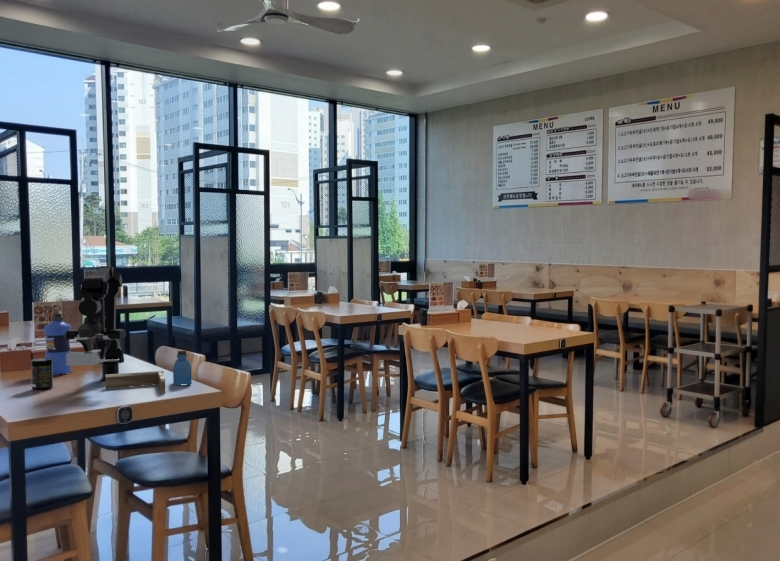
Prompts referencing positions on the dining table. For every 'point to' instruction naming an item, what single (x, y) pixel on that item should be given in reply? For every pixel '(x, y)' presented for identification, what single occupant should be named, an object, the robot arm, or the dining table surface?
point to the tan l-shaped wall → (135, 379)
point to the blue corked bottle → (182, 369)
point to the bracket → (84, 358)
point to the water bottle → (57, 343)
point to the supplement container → (42, 374)
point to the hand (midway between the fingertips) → (96, 359)
